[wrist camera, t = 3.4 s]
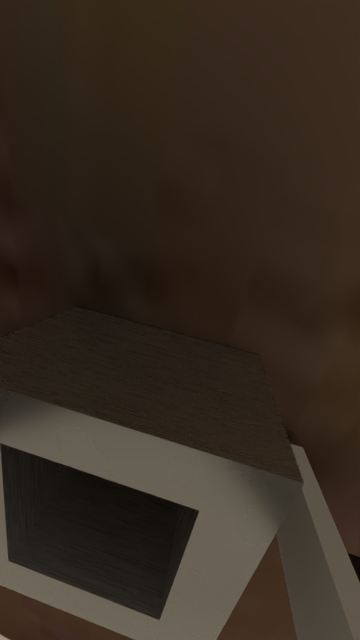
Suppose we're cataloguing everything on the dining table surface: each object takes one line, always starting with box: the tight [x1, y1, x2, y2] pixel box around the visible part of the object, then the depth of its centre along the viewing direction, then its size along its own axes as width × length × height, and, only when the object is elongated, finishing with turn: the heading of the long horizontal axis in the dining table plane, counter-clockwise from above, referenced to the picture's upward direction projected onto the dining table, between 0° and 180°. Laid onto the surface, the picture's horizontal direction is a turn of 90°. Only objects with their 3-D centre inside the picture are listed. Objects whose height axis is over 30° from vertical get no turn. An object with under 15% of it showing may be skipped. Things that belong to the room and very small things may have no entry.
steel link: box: [0, 307, 304, 640], centre depth 9 cm, size 9×9×6 cm
